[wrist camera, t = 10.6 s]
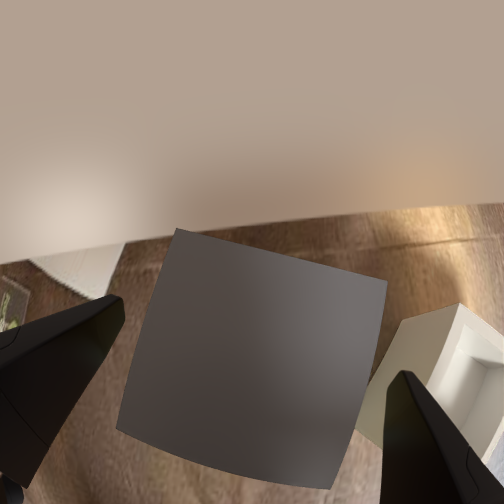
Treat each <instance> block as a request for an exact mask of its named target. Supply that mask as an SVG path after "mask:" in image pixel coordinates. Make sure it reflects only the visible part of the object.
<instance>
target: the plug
mask: <svg viewBox="0 0 504 504" xmlns="http://www.w3.org/2000/svg"><path fill="white" fill-rule="evenodd" d="M387 284H388V281H385V280H381V279H377V278H373V277H370V276H366V275H362V274H358V273H354V272H350V271H346V270H342V269H338V268H334V267H330V266H326V265H322V264H318V263H314V262H310V261H307V260H303V259H299V258H295V257H291V256H287V255H283V254H279V253H275V252H271V251H267V250H263V249H259V248H255V247H251V246H247V245H243V244H239V243H235V242H231V241H227V240H223V239H219V238H214V237H210V236H206V235H202V234H198V233H194V232H190V231H186V230H182V229H178V228H176V230H175V233H174V236H173V238H172V241H171V243H170V246H169V249H168V251H167V254H166V257H165V260H164V262H163V265H162V268H161V271H160V274H159V276H158V279H157V282H156V285H155V288H154V291H153V294H152V297H151V300H150V303H149V306H148V309H147V312H146V316H145V319H144V322H143V325H142V328H141V332H140V335H139V338H138V342H137V345H136V349H135V352H134V356H133V359H132V363H131V367H130V371H129V374H128V378H127V382H126V386H125V390H124V394H123V398H122V402H121V407H120V411H119V416H118V420H117V425H116V429H117V430H119V431H121V432H123V433H125V434H127V435H129V436H131V437H133V438H136V439H138V440H140V441H142V442H144V443H146V444H149V445H151V446H153V447H156V448H158V449H160V450H163V451H165V452H168V453H170V454H173V455H176V456H178V457H181V458H184V459H187V460H189V461H192V462H195V463H198V464H201V465H204V466H208V467H211V468H214V469H218V470H221V471H225V472H228V473H232V474H236V475H240V476H244V477H248V478H253V479H257V480H262V481H267V482H273V483H279V484H285V485H291V486H299V487H307V488H316V489H328V490H330V489H331V487H332V485H333V483H334V480H335V478H336V476H337V473H338V471H339V468H340V466H341V463H342V461H343V458H344V456H345V453H346V450H347V448H348V445H349V442H350V439H351V437H352V434H353V431H354V428H355V425H356V422H357V419H358V415H359V412H360V409H361V406H362V402H363V399H364V395H365V392H366V388H367V384H368V381H369V377H370V373H371V369H372V365H373V361H374V356H375V352H376V347H377V342H378V338H379V332H380V327H381V322H382V316H383V310H384V304H385V298H386V291H387Z"/></svg>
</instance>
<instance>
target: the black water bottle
mask: <svg viewBox="0 0 504 504" xmlns="http://www.w3.org/2000/svg"><path fill="white" fill-rule="evenodd" d="M1 477H2V480H3V485H4V489H5V494H6V498H7V502H8V504H22V503H23V499H24V497H23V492H22V489H21V486H20V485H19V484H18V483H16V482H15V481H13V480H12V479H10V478H9V477H7V476H6V475H4V474H2V476H1Z"/></svg>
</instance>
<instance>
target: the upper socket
mask: <svg viewBox="0 0 504 504" xmlns="http://www.w3.org/2000/svg"><path fill="white" fill-rule="evenodd" d="M401 370H408V371H412V372H413V373H414V374H415V375H416V376H417V377H418V379H419V380H420V381H421V382H422V384H423V385H424V386H425V387H426V389H427V390H428V391H429V392H430V394H431V395H432V396H433V397H434V399H435V400H436V401H437V402H438V404H439V405H440V406H441V408H442V409H443V410H444V411H445V413H446V414H447V415H448V417H449V418H450V419H451V420H452V422H453V423H454V424H455V426H456V427H457V428H458V430H459V431H460V432H461V434H462V435H463V436H464V438H465V439H466V440H467V442H468V443H469V446H471V447H472V449H473V450H474V451H475V453H476V454H477V455H478V457H479V458H480V459H481V461H482V462H483V463H484V465H486V463H487V461H488V459H489V458H490V456H491V454H492V452H493V450H494V449H495V447H496V445H497V443H498V441H499V439H500V437H501V435H502V433H503V431H504V337H503V336H502V335H501V334H500V333H499V332H497V331H496V330H495V329H494V328H492V327H491V326H490V325H489V324H487V323H486V322H485V321H484V320H482V319H481V318H480V317H478V316H477V315H476V314H475V313H473V312H472V311H471V310H469V309H468V308H467V307H465V306H464V305H463V304H461V303H460V302H459V303H456V304H453V305H450V306H447V307H444V308H441V309H438V310H434V311H431V312H428V313H424V314H421V315H417V316H414V317H410V318H407V319H403V320H402V321H401V323H400V325H399V328H398V330H397V332H396V334H395V336H394V338H393V340H392V342H391V344H390V346H389V348H388V350H387V352H386V354H385V356H384V358H383V360H382V362H381V363H380V365H379V367H378V369H377V371H376V373H375V374H374V376H373V378H372V380H371V381H370V383H369V385H368V387H367V388H366V392H365V395H364V399H363V402H362V406H361V409H360V412H359V415H358V419H357V422H356V425H355V429H356V430H357V431H359V432H360V433H361V434H363V435H364V436H365V437H366V438H368V439H369V440H370V441H372V442H373V443H374V444H375V445H377V446H378V447H379V448H381V449H382V450H383V427H384V417H385V406H386V392H387V388H388V386H389V384H390V383H391V382H392V380H393V379H394V378H395V376H396V375H397V374H398V372H399V371H401Z"/></svg>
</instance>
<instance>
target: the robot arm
mask: <svg viewBox="0 0 504 504" xmlns="http://www.w3.org/2000/svg"><path fill="white" fill-rule="evenodd" d="M124 322H125V311H124V303H123V299H122V298H121V297H119V296H116V295H113V294H110V295H107V296H104V297H101V298H98V299H95V300H92V301H89V302H87V303H84V304H81V305H78V306H75V307H72V308H69V309H66V310H64V311H61V312H58V313H55V314H52V315H49V316H46V317H44V318H41V319H38V320H35V321H32V322H29V323H27V324H24V325H22V326H18V327H15V328H12V329H9V330H6V331H3V332H0V504H8V502H7V498H6V494H5V489H4V485H3V480H2V477H1V476H2V474H4V475H6V476H7V477H9V478H10V479H12V480H13V481H15V482H16V483H18V484H19V485H21V486H22V487H24V488H26V489H27V488H28V487H29V485H30V483H31V481H32V479H33V477H34V475H35V473H36V472H37V470H38V468H39V466H40V464H41V462H42V460H43V459H44V457H45V455H46V453H47V452H48V450H49V447H50V446H51V444H52V442H53V441H54V439H55V437H56V436H57V434H58V432H59V430H60V429H61V427H62V425H63V424H64V422H65V420H66V419H67V417H68V416H69V414H70V412H71V411H72V409H73V407H74V406H75V404H76V403H77V401H78V399H79V398H80V396H81V395H82V393H83V392H84V390H85V388H86V387H87V385H88V384H89V382H90V381H91V379H92V378H93V376H94V375H95V373H96V372H97V370H98V369H99V367H100V366H101V364H102V363H103V361H104V359H105V358H106V356H107V354H108V352H109V350H110V349H111V347H112V345H113V343H114V341H115V339H116V337H117V335H118V334H119V332H120V330H121V328H122V326H123V324H124ZM379 504H504V487H503V486H502V485H501V484H500V482H499V481H498V480H497V479H496V478H495V477H494V475H493V474H492V473H491V472H490V471H489V469H488V468H487V467H486V466H485V465H484V463H483V462H482V461H481V459H480V458H479V457H478V455H477V454H476V453H475V451H474V450H473V449H472V447H471V446H469V443H468V442H467V440H466V439H465V438H464V436H463V435H462V434H461V432H460V431H459V430H458V428H457V427H456V426H455V424H454V423H453V422H452V420H451V419H450V418H449V417H448V415H447V414H446V413H445V411H444V410H443V409H442V408H441V406H440V405H439V404H438V402H437V401H436V400H435V399H434V397H433V396H432V395H431V394H430V392H429V391H428V390H427V389H426V387H425V386H424V385H423V384H422V382H421V381H420V380H419V379H418V377H417V376H416V375H415V374H414V373H413V372H412V371H408V370H401V371H399V372H398V374H397V375H396V376H395V378H394V379H393V380H392V382H391V383H390V384H389V386H388V388H387V392H386V406H385V417H384V427H383V458H382V479H381V492H380V503H379Z"/></svg>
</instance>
